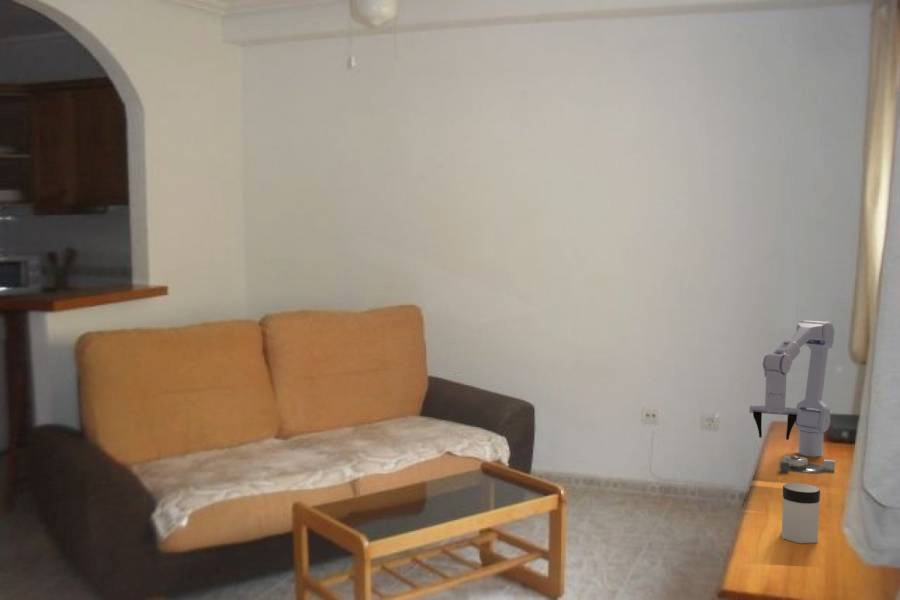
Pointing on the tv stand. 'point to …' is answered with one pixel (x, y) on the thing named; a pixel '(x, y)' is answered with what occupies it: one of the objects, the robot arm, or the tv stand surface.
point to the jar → (800, 513)
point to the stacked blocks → (784, 466)
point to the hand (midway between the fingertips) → (773, 437)
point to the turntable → (818, 467)
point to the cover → (796, 462)
